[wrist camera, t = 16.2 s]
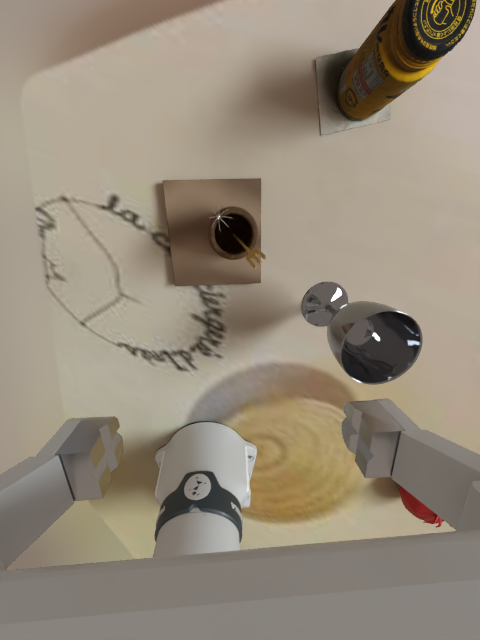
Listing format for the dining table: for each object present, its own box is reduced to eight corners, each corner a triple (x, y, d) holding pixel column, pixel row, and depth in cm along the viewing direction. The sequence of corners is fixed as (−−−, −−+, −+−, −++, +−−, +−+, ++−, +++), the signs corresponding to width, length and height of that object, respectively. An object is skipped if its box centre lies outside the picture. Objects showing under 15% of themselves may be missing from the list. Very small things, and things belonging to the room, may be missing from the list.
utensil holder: (231, 197, 31) (233, 180, 20) (265, 235, 33) (285, 238, 22) (199, 233, 33) (185, 236, 21) (234, 267, 34) (237, 286, 23)
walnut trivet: (259, 281, 36) (260, 282, 35) (176, 284, 36) (175, 285, 35) (259, 180, 32) (260, 178, 31) (164, 182, 31) (162, 180, 30)
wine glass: (290, 320, 39) (326, 372, 25) (312, 271, 36) (366, 299, 22) (335, 335, 40) (394, 393, 26) (360, 289, 38) (439, 325, 24)
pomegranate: (385, 492, 54) (415, 544, 45) (402, 458, 51) (439, 506, 42) (427, 495, 55) (464, 546, 46) (447, 462, 52) (491, 509, 43)
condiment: (389, 120, 30) (484, 57, 19) (320, 135, 31) (374, 82, 19) (389, 41, 28) (499, -84, 17) (314, 59, 28) (373, -53, 17)
